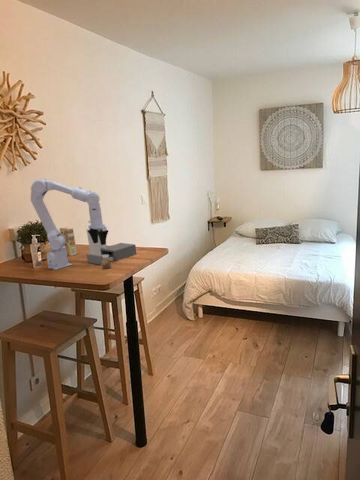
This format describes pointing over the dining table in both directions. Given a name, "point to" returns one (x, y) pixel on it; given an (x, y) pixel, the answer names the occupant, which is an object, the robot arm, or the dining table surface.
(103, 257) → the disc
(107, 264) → the brown cylinder
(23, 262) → the dining table surface
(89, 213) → the robot arm
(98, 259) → the grey drawer
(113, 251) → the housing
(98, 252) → the milk carton
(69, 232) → the candy box
